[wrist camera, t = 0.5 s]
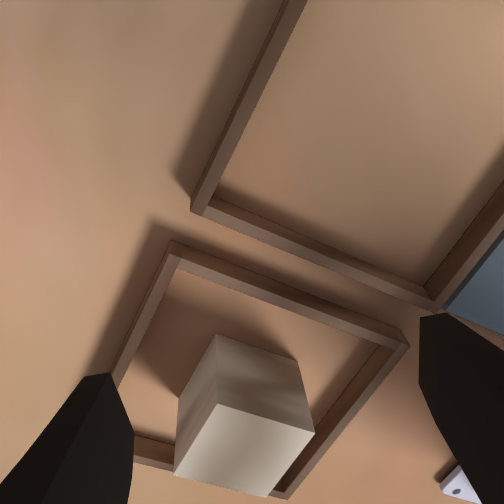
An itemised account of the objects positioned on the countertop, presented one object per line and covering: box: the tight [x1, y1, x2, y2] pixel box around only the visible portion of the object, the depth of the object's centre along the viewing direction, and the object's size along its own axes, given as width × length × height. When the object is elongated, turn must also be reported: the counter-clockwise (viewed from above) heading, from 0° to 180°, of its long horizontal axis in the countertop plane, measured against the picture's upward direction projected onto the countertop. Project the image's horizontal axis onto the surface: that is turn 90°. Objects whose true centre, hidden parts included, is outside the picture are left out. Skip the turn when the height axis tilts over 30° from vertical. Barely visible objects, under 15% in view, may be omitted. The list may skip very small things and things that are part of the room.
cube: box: [173, 334, 315, 498], centre depth 22 cm, size 4×4×4 cm
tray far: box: [110, 240, 410, 500], centre depth 23 cm, size 12×12×1 cm
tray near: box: [190, 0, 504, 314], centre depth 18 cm, size 12×12×1 cm
